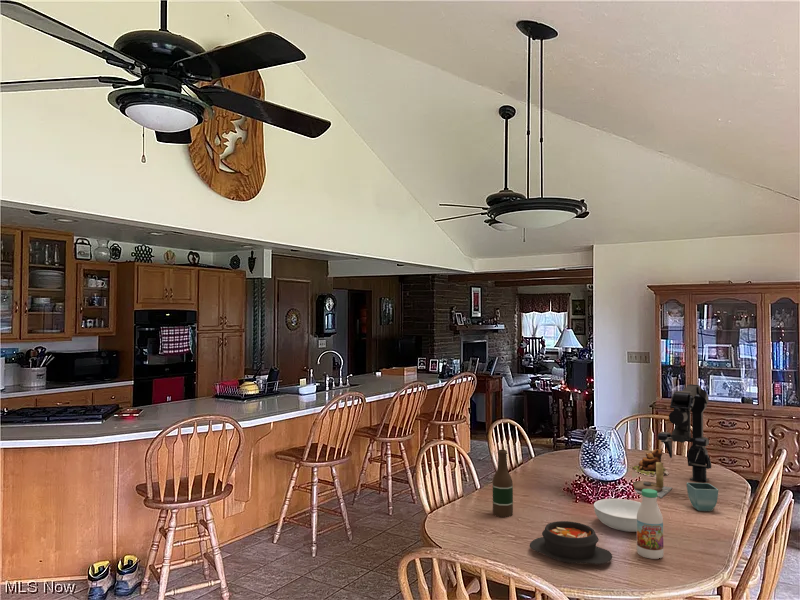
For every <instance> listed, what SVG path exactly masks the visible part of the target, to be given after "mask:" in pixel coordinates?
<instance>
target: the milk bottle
mask: <svg viewBox="0 0 800 600" xmlns="http://www.w3.org/2000/svg"><path fill="white" fill-rule="evenodd" d="M657 495H658V494H657V491H656V490H653V489H643V490H642V494H641V498H642V499H641V502H640V503H641V505H640V507H639V509H638V513H637V531H636V553H637V554H638V555H639V556H641V557H643V558H645V559H650V560H658V559H659V558H660V559H662V558H663V557H664V518H663V514H662V512H661V510H660V507H659V504H658V502H657V500H658V497H657Z"/></svg>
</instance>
